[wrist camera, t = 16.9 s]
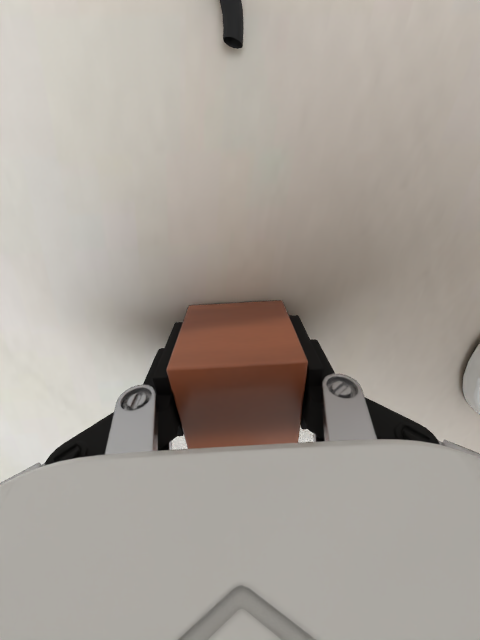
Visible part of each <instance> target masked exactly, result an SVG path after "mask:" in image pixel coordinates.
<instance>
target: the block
mask: <svg viewBox="0 0 480 640" xmlns="http://www.w3.org/2000/svg"><path fill="white" fill-rule="evenodd" d="M307 366H308V361H307V358H306V356H305V353H304V351H303V349H302V346H301V344H300V342H299V339H298V337H297V334H296V332H295V330H294V327H293V325H292V323H291V320H290V318H289V315H288V313H287V311H286V308H285V306H284V304H283V301H281V300H279V301H261V302H244V303H226V304H209V305H191V306H189V307H188V309H187V312H186V315H185V318H184V321H183V324H182V327H181V329H180V332H179V335H178V338H177V341H176V344H175V346H174V349H173V352H172V355H171V358H170V361H169V363H168V366H167V369H166V370H167V374H168V378H169V381H170V385H171V389H172V392H173V396H174V400H175V403H176V407H177V411H178V414H179V418H180V421H181V425H182V429H183V432H184V436H185V440H186V443H187V447H188V449H195V448H212V447H230V446H247V445H265V444H284V443H298V438H299V430H300V422H301V414H302V406H303V398H304V390H305V382H306V374H307Z"/></svg>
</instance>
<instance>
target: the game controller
mask: <svg viewBox="0 0 480 640" xmlns="http://www.w3.org/2000/svg"><path fill="white" fill-rule="evenodd" d="M220 4H221V9H222V14H223V27H224V30H223V40H224V42H225V43H226V44H227V45H229V46H230V47H233V48H237V49H238V48H242V46H243V9H242V3H241V0H220Z"/></svg>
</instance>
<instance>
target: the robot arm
mask: <svg viewBox="0 0 480 640" xmlns="http://www.w3.org/2000/svg"><path fill="white" fill-rule="evenodd" d="M289 318H290V320H291V323H292V325H293V327H294V330H295V332H296V334H297V337H298V339H299V342H300V344H301V346H302V349H303V351H304V353H305V356H306V358H307V361H308V366H307V374H306V382H305V390H304V398H303V406H302V414H301V422H300V425H301V428H302V429H308V430H310V431H311V432H313V433H314V434H313V437H314V442H303V443H284V444H265V445H247V446H230V447H212V448H195V449H179V450H172V442H171V441H172V440H173V439H174V438H175V437H177V436H183V434H184V432H183V429H182V425H181V421H180V418H179V414H178V411H177V407H176V403H175V400H174V396H173V392H172V389H171V385H170V381H169V378H168V374H167V370H166V369H167V366H168V363H169V361H170V358H171V355H172V352H173V349H174V346H175V344H176V341H177V338H178V335H179V332H180V329H181V327H182V324H183V322H175V324H174V326H173V329H172V331H171V334H170V336H169V339H168V341H167V343H166V346H165V348H160V349H159V350H158V352H157V354H156V356H155V359H154V361H153V363H152V365H151V368H150V370H149V372H148V374H147V377H146V379H145V381H144V384H143V385H137V386H134V387H131V388H129V389H128V390H126V391H125V392H124V393H122V394H121V396H120V397H119V398H118V400H117V402H116V406H115V411H114V412H113V413H112V414H110V415H108V416H107V417H105V418H104V419H102V420H101V421H99V422H97V423H96V424H94V425H93V426H91V427H89V428H88V429H86V430H85V431H83V432H81V433H80V434H78V435H77V436H75V437H73V438H72V439H70V440H69V441H67V442H65V443H64V444H62V445H61V446H60V447H58V448H57V449H56V450H55V451H54V452H53V453H52V454H51V455H50V456H49V458H48V459H47V461H46V462H45V463H44V464H43V465H41V464H40V463H37V464H35V465H33V466H31V467H29V468H28V469H26V470H24V471H22V472H20V473H18V474H16V475H14V476H13V477H11V478H9V479H7V480H5V481H3V482H1V483H0V640H480V454H479V453H477V452H474V451H472V450H469V449H467V448H464V447H462V446H459V445H457V444H454V443H452V442H449V441H447V440H445V439H444V441H443V442H440V441H438V440H437V438H436V437H435V436H434V435H433V434H432V433H431V432H430V431H429V430H428V429H427V428H425V427H423V426H422V425H420V424H418V423H416V422H414V421H412V420H410V419H408V418H406V417H404V416H402V415H400V414H398V413H396V412H394V411H392V410H390V409H388V408H386V407H384V406H382V405H380V404H378V403H376V402H374V401H371V400H369V399H367V398H365V397H364V394H363V391H362V388H361V386H360V384H359V383H358V382H357V381H356V380H354V379H353V378H351V377H349V376H346V375H343V374H335V372H334V371H333V369H332V367H331V365H330V363H329V361H328V359H327V358H326V356H325V354H324V352H323V350H322V348H321V346H320V344H319V343H318V341H317V340H310V339H309V337H308V335H307V333H306V331H305V328H304V326H303V324H302V322H301V320H300V318H299V316H298V315H296V316H289ZM463 393H464V396H465V400H466V401H467V403H468V404H469V405H470V406H471V408H472V409H473V410H475V411H476V412H477V413H478V414H479V415H480V343H479V344H478V346H477V347H476V349H475V351H474V353H473V354H472V356H471V358H470V360H469V361H468V364H467V367H466V370H465V373H464V376H463Z"/></svg>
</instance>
